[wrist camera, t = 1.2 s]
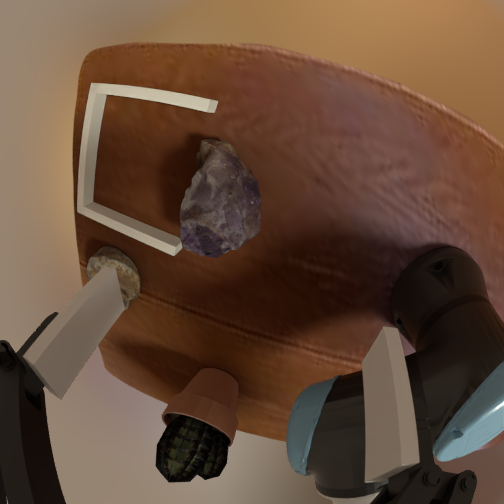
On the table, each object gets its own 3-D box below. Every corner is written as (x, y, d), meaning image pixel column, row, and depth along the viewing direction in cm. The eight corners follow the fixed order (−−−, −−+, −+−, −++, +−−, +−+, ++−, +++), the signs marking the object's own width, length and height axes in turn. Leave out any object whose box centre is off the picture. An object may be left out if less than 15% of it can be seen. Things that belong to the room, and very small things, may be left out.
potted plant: (190, 388, 56) (145, 477, 34) (184, 351, 50) (123, 456, 28) (247, 405, 54) (214, 503, 32) (253, 369, 47) (210, 491, 26)
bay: (218, 101, 29) (210, 99, 26) (182, 248, 39) (174, 256, 37) (102, 83, 30) (91, 83, 28) (87, 207, 40) (77, 212, 38)
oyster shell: (87, 273, 48) (68, 288, 43) (110, 228, 41) (88, 243, 36) (124, 312, 50) (108, 330, 45) (156, 276, 43) (137, 295, 38)
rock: (192, 214, 38) (263, 240, 37) (158, 250, 31) (241, 283, 30) (204, 130, 30) (288, 154, 29) (161, 149, 23) (269, 180, 22)
